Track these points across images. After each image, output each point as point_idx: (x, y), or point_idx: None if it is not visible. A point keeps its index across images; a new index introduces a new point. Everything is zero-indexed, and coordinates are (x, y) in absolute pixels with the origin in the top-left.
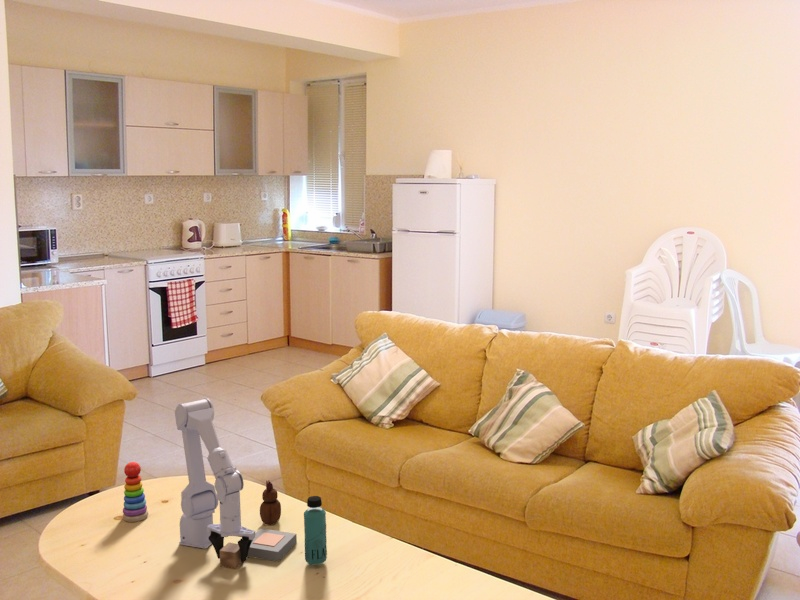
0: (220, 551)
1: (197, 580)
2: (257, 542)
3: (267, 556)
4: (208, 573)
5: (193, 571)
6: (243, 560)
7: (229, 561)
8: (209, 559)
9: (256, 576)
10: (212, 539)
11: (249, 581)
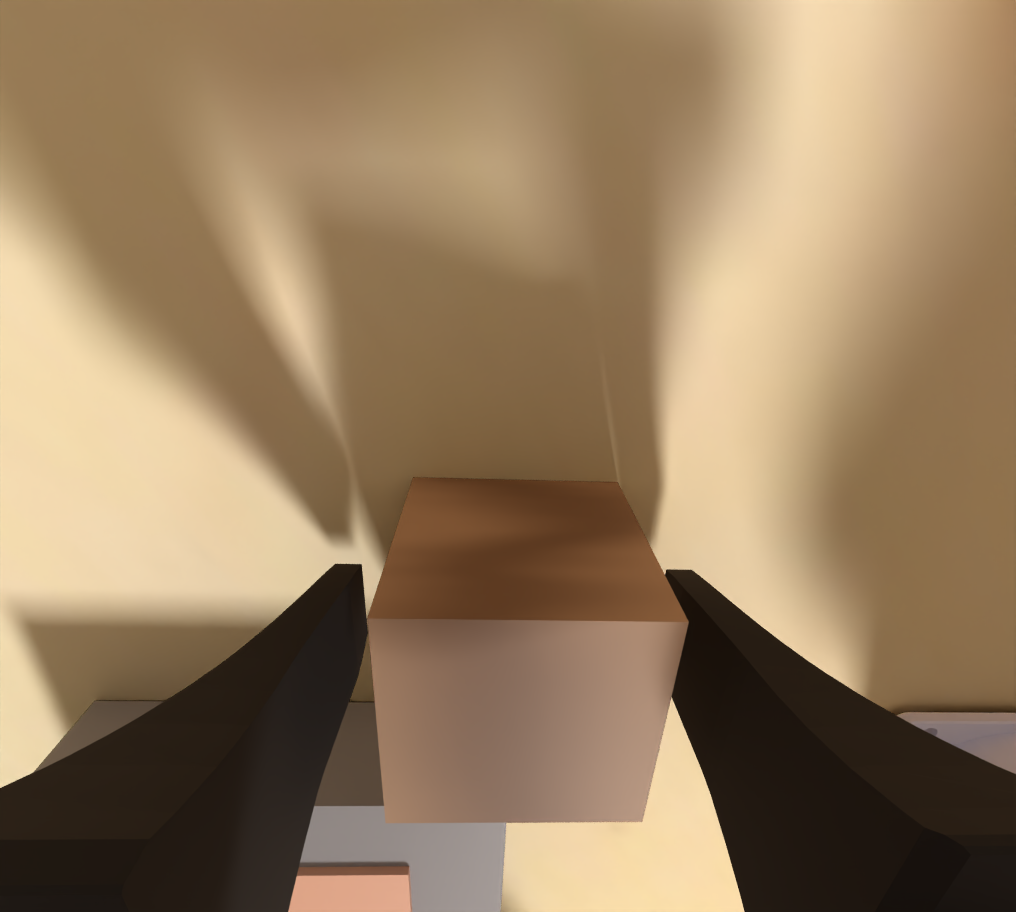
0: (662, 609)
1: (779, 52)
2: (361, 886)
3: None
4: (692, 296)
5: (909, 289)
6: (317, 582)
7: (491, 522)
8: (794, 573)
9: (65, 396)
10: (991, 821)
11: (45, 253)
